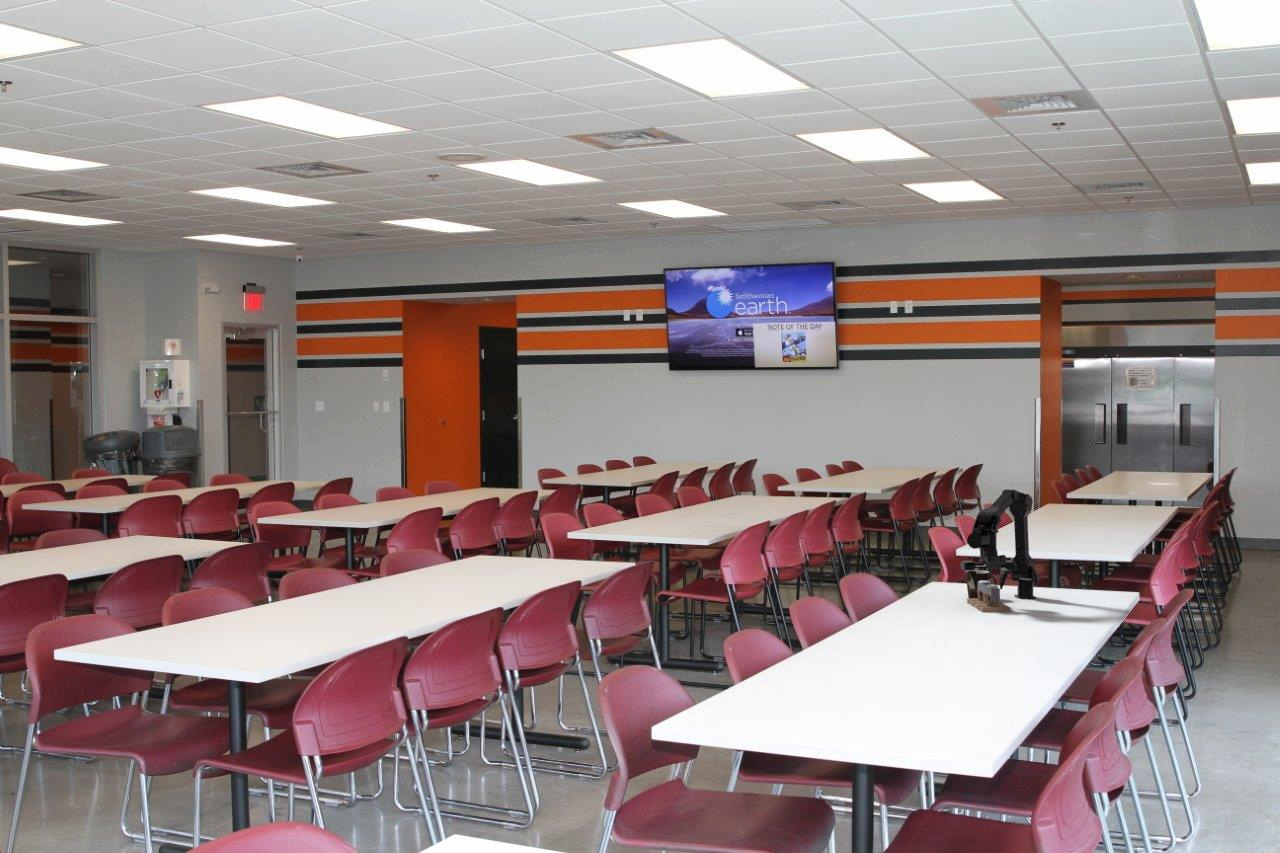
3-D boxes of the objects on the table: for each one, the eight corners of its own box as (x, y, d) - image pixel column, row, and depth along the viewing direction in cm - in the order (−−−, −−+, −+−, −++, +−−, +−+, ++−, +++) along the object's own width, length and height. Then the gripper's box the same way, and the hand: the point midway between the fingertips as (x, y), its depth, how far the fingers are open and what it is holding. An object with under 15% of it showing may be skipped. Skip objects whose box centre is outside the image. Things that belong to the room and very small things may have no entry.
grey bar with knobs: (976, 593, 449) (976, 579, 449) (987, 593, 449) (987, 579, 449) (989, 601, 431) (989, 587, 431) (1001, 601, 431) (1001, 587, 431)
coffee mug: (960, 596, 463) (960, 570, 463) (980, 595, 466) (980, 569, 465) (978, 601, 452) (978, 574, 452) (998, 600, 455) (998, 573, 454)
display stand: (967, 602, 450) (967, 589, 450) (994, 602, 450) (994, 589, 450) (982, 611, 430) (982, 597, 430) (1010, 611, 430) (1010, 597, 430)
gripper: (968, 549, 431) (968, 592, 432) (1021, 548, 431) (1021, 592, 432) (960, 545, 443) (960, 588, 443) (1011, 545, 442) (1011, 587, 443)
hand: (988, 589), depth 440 cm, fingers open, 9 cm apart
